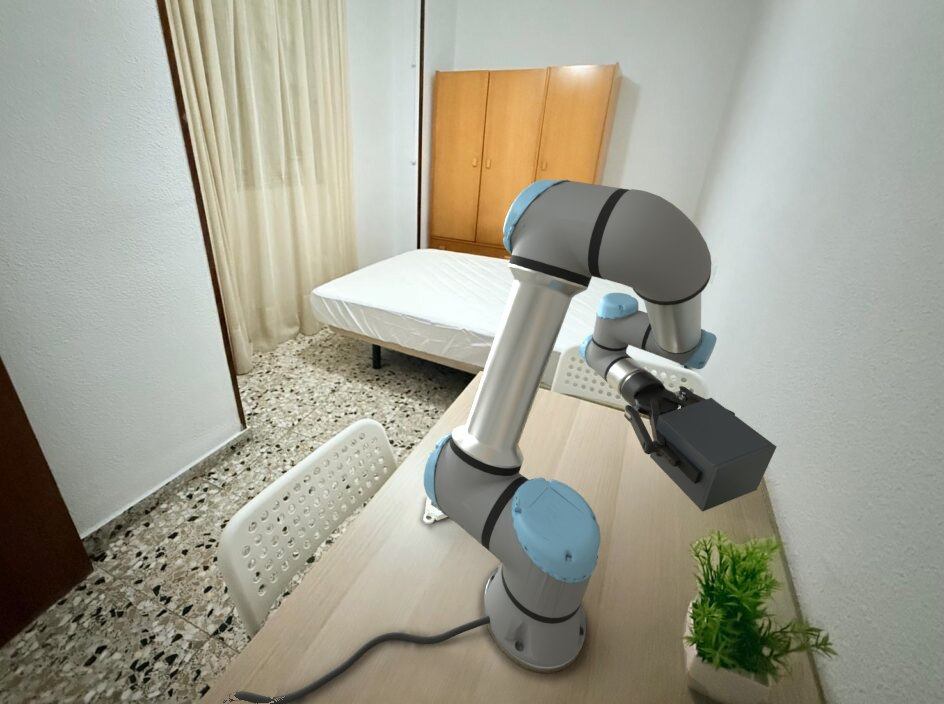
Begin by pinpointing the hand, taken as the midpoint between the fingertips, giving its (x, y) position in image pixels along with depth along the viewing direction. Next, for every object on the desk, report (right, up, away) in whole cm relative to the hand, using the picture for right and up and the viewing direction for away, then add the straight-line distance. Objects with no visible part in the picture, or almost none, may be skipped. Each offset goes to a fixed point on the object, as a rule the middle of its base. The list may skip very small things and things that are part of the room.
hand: (728, 466), depth 66 cm
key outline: (-45, -13, +15) cm, 49 cm away
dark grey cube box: (0, -4, +7) cm, 8 cm away
